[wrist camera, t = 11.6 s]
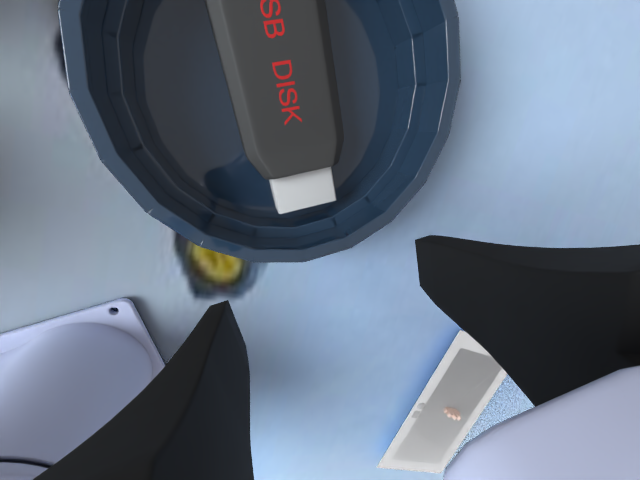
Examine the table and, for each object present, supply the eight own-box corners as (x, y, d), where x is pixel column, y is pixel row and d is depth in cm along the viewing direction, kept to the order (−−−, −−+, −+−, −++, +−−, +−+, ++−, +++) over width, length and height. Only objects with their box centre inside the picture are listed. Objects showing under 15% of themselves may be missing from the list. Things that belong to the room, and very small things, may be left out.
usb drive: (304, -54, 15) (318, -90, 13) (342, 189, 20) (357, 199, 17) (193, -43, 14) (184, -79, 12) (259, 209, 19) (263, 222, 16)
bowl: (181, 266, 19) (167, 304, 15) (35, -79, 13) (-56, -172, 9) (422, 197, 22) (465, 213, 18) (395, -119, 16) (453, -206, 12)
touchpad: (513, 342, 29) (533, 358, 27) (434, 462, 32) (447, 484, 30) (451, 322, 26) (469, 338, 25) (371, 456, 30) (381, 479, 28)
